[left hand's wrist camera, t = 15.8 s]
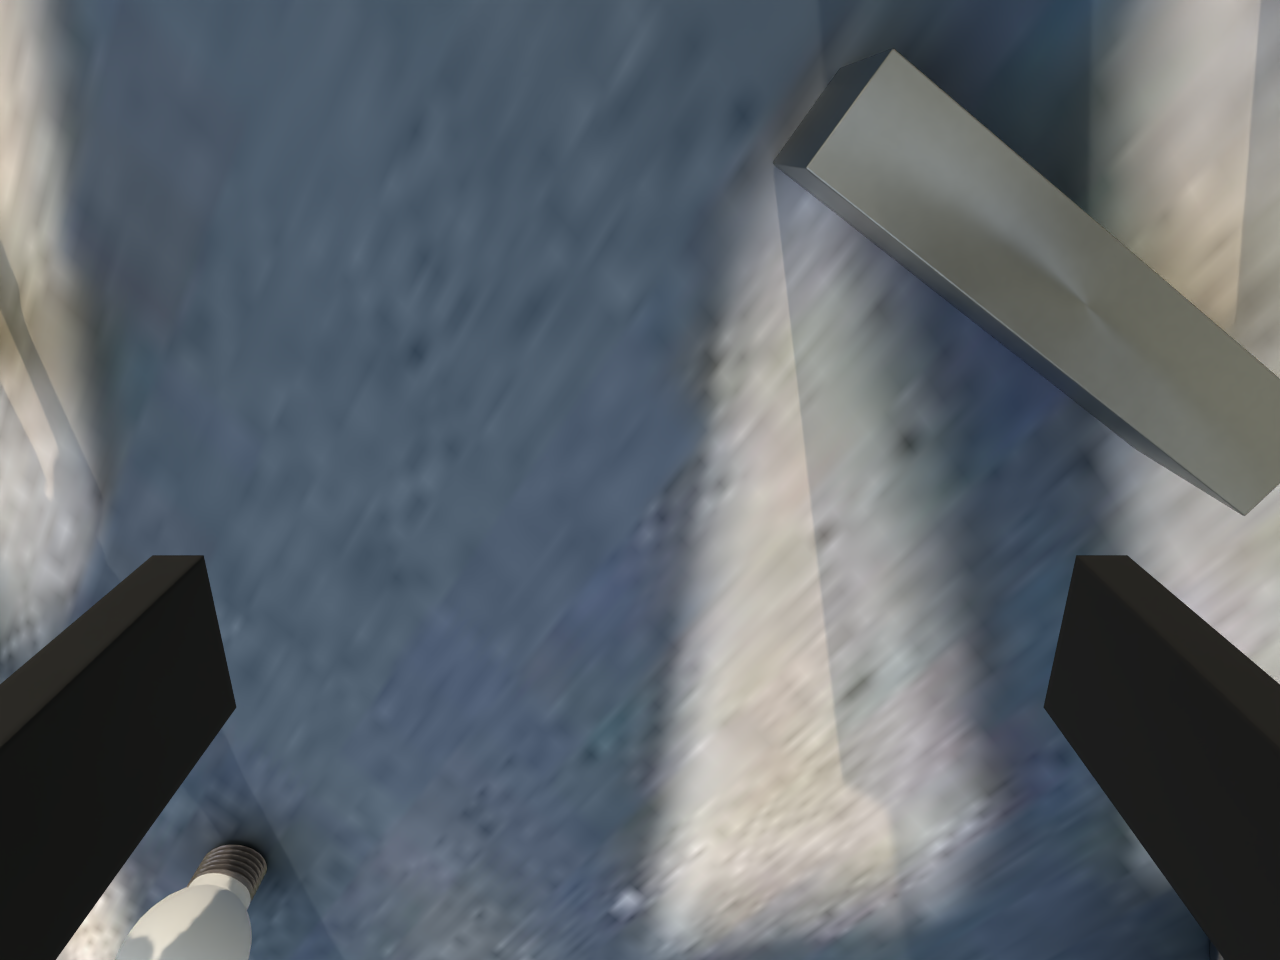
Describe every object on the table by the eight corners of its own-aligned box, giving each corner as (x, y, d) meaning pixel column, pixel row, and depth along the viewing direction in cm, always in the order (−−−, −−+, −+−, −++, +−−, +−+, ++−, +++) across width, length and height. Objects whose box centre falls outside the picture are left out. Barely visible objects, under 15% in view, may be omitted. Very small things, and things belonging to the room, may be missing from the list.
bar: (771, 163, 38) (805, 168, 31) (840, 67, 37) (893, 47, 29) (1137, 450, 44) (1244, 516, 36) (1210, 376, 42) (1338, 428, 34)
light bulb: (252, 813, 52) (158, 975, 42) (308, 888, 55) (232, 1059, 44) (160, 845, 53) (46, 1011, 43) (219, 917, 56) (125, 1092, 45)
